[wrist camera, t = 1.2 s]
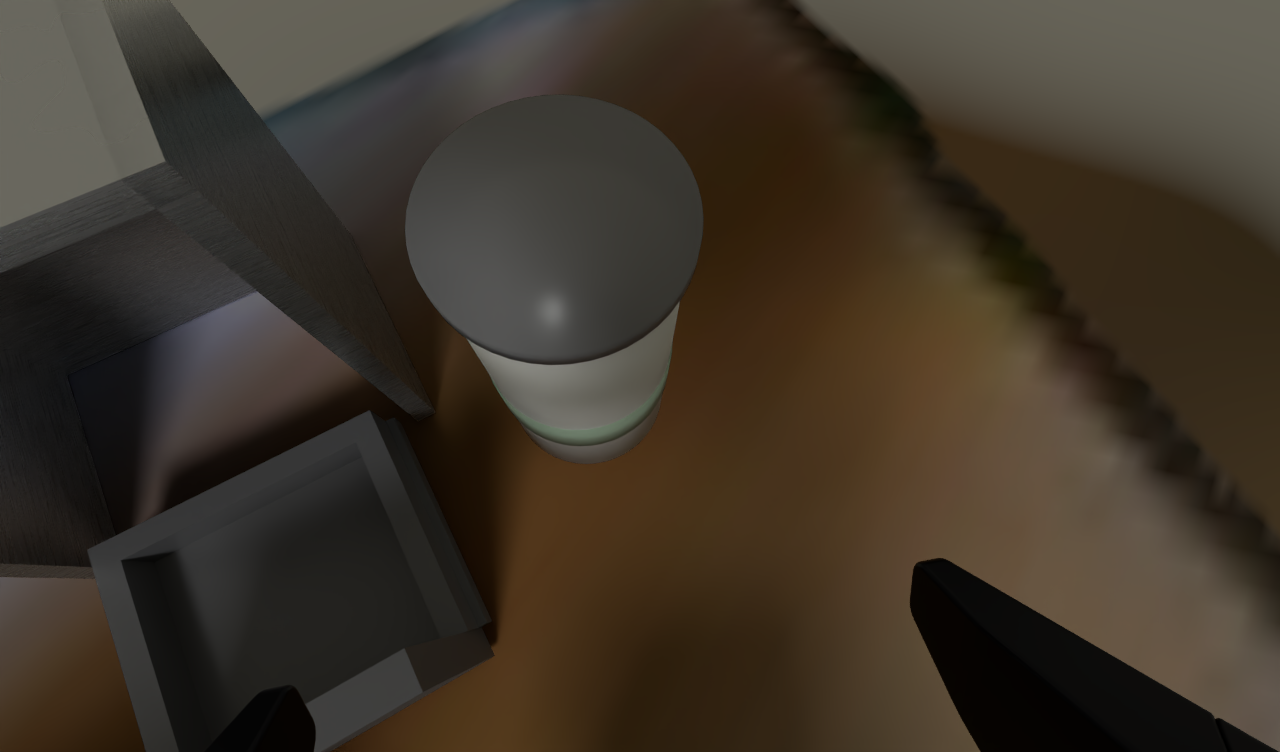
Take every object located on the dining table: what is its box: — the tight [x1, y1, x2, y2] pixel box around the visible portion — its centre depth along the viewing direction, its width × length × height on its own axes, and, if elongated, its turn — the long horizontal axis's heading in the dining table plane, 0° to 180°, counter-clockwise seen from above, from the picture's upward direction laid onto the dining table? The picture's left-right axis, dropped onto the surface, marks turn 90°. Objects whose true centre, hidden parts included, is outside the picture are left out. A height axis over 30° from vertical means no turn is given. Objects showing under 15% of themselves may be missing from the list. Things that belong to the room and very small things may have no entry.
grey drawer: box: [87, 410, 495, 752], centre depth 18 cm, size 10×10×8 cm
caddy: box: [0, 0, 435, 579], centre depth 17 cm, size 9×12×15 cm
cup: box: [405, 95, 703, 464], centre depth 19 cm, size 6×6×12 cm
